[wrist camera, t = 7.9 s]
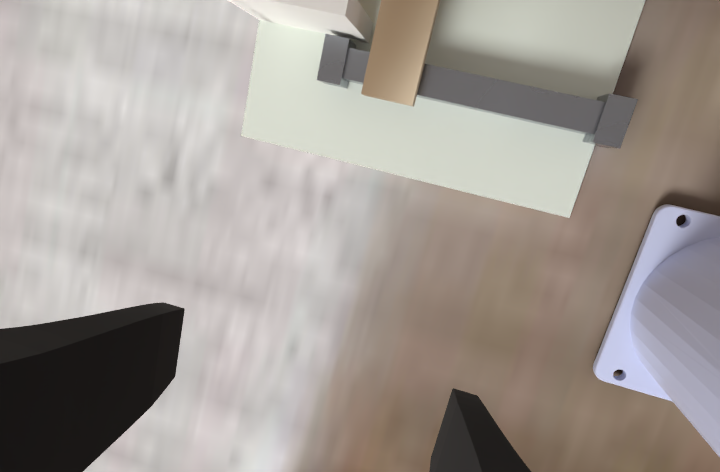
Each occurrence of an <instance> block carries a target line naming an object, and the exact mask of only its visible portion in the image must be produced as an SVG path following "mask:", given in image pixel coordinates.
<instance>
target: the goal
mask: <svg viewBox="0 0 720 472" xmlns="http://www.w3.org/2000/svg"><path fill="white" fill-rule="evenodd" d="M228 1H229V2H231V3H233V4H234V5H236V6H238V7H239V8H241V9H242V10H244V11H246V12H247V13H249V14H251V15H252V16H254V17H255V18H257V19H259V20H262V21H267V22H272V23H277V24H281V25H286V26H291V27H296V28H300V29H305V30H310V31H315V32H319V33H324V34H330V35H335V36H339V37H344V38H349V39H353V40H357V41H362V42H367V43H369V40H370V35H371V30H372V26H373V22H372V21H371V19H370V18H369V16H368V15H367V13H366V12H365V10H364V9H363V7H362V6H361V4H360V3H359V1H358V0H228Z"/></svg>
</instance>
